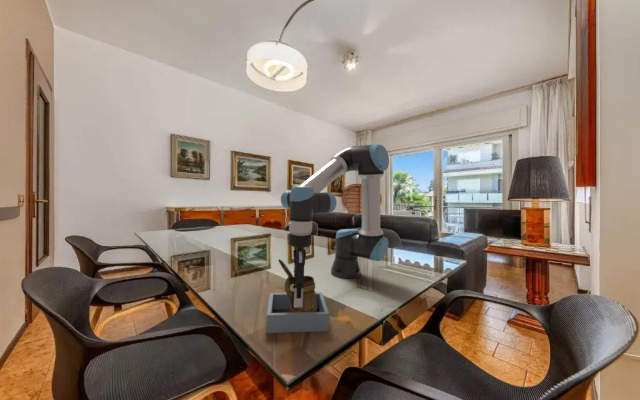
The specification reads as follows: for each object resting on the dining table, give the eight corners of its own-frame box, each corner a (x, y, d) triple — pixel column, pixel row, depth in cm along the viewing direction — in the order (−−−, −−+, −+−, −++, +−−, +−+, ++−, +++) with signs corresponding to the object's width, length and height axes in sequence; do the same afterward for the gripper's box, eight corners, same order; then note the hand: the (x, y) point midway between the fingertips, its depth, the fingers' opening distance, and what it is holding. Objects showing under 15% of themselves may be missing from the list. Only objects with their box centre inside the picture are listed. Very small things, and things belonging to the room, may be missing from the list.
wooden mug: (275, 306, 86) (277, 255, 85) (314, 304, 89) (316, 254, 88) (277, 320, 78) (279, 263, 76) (319, 317, 80) (322, 262, 79)
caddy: (321, 306, 92) (322, 292, 92) (328, 331, 77) (329, 313, 77) (269, 307, 90) (270, 293, 89) (266, 333, 75) (266, 315, 74)
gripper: (288, 227, 91) (286, 289, 92) (289, 239, 71) (286, 317, 73) (309, 228, 92) (306, 288, 93) (315, 240, 72) (311, 316, 74)
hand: (297, 301), depth 83 cm, fingers closed on wooden mug, 7 cm apart
